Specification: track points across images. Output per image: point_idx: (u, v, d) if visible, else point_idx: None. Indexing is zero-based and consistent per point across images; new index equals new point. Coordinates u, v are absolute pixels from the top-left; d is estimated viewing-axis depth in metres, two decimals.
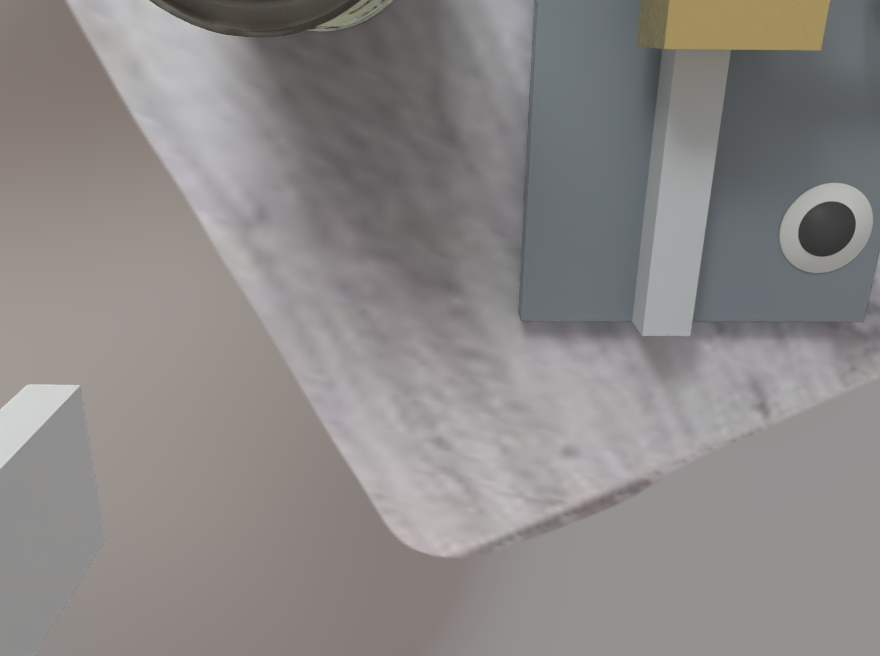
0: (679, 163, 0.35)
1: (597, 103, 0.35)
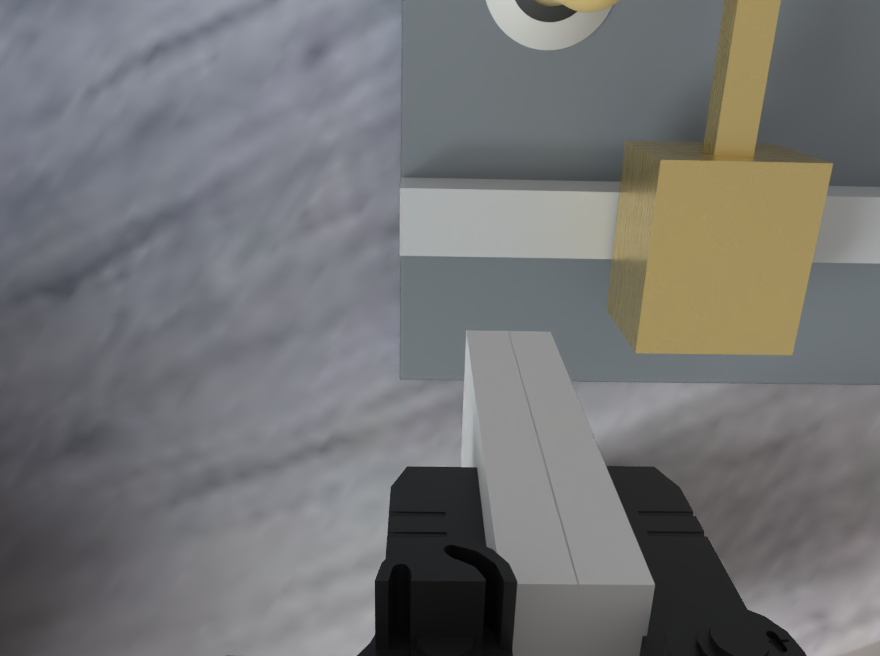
0: None
1: None
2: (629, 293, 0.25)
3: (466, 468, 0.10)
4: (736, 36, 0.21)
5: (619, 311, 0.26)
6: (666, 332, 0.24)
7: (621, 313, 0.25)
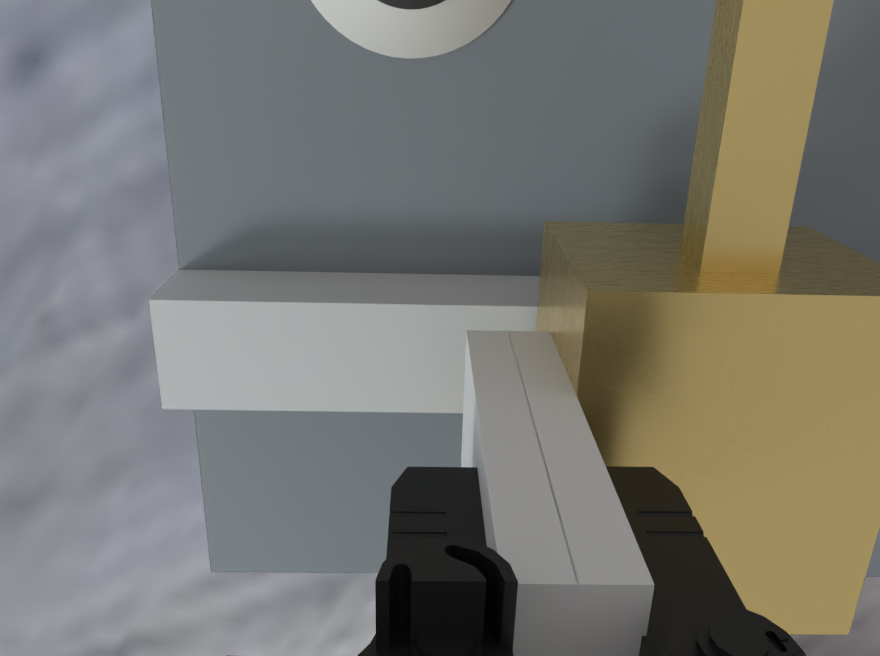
0: None
1: None
2: None
3: (466, 468, 0.10)
4: (747, 36, 0.10)
5: None
6: None
7: None
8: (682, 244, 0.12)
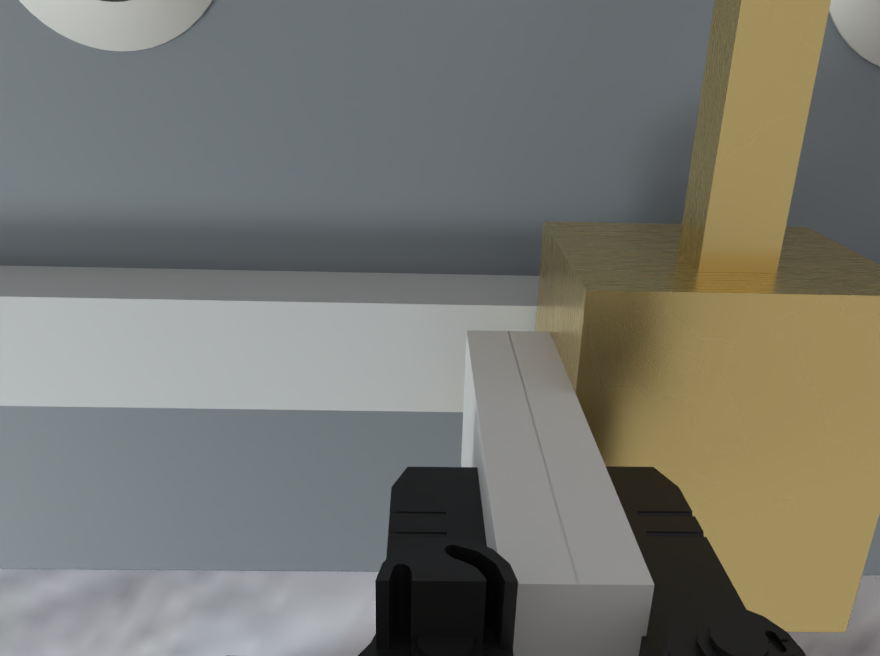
0: None
1: None
2: None
3: (466, 468, 0.10)
4: (744, 37, 0.10)
5: None
6: None
7: None
8: (680, 244, 0.12)
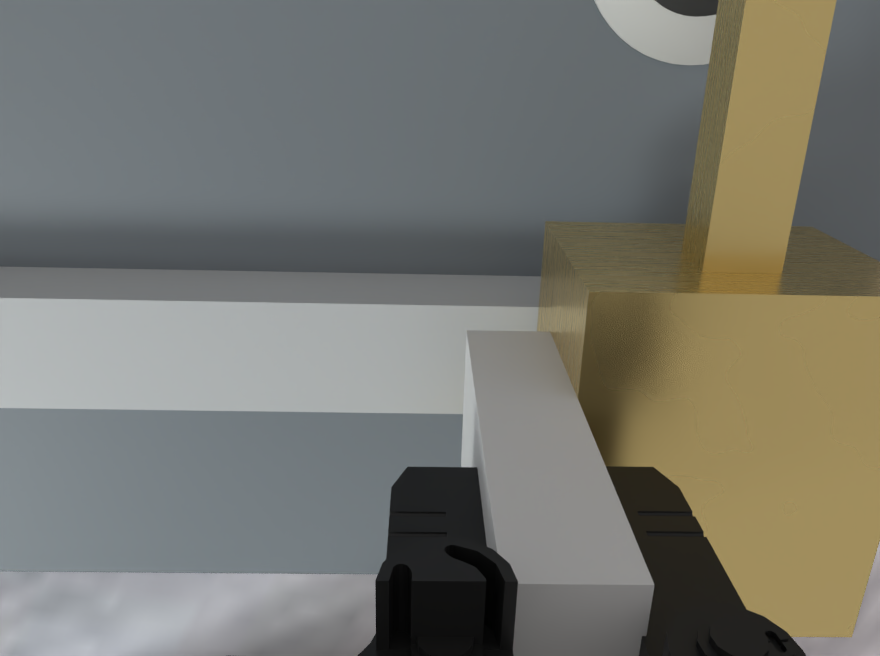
0: None
1: (391, 473, 0.19)
2: None
3: (466, 468, 0.10)
4: (749, 34, 0.10)
5: None
6: None
7: None
8: (684, 244, 0.12)
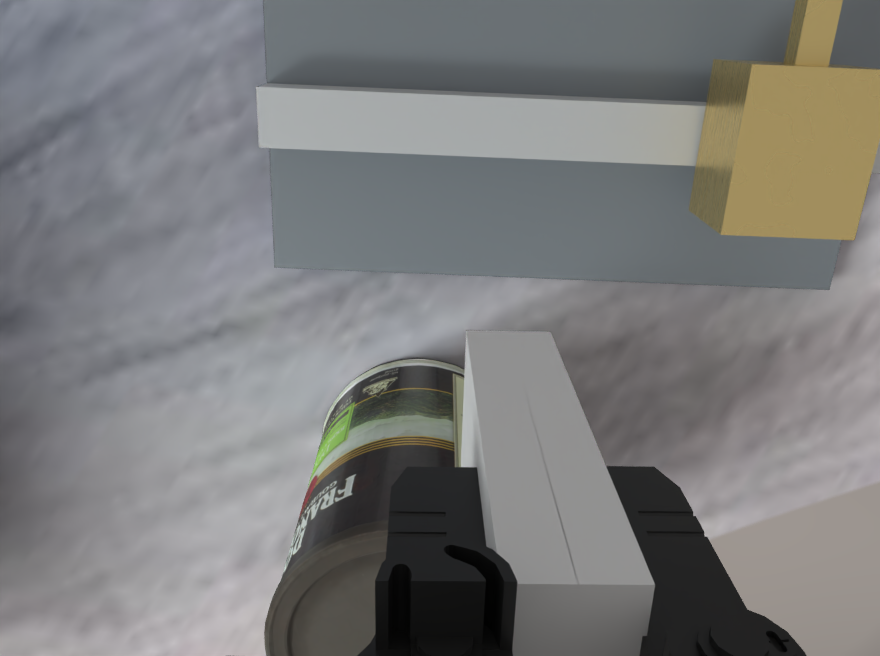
0: (684, 146, 0.31)
1: (605, 216, 0.34)
2: (715, 186, 0.29)
3: (466, 468, 0.10)
4: None
5: (703, 206, 0.30)
6: (748, 217, 0.28)
7: (705, 206, 0.30)
8: (785, 59, 0.28)
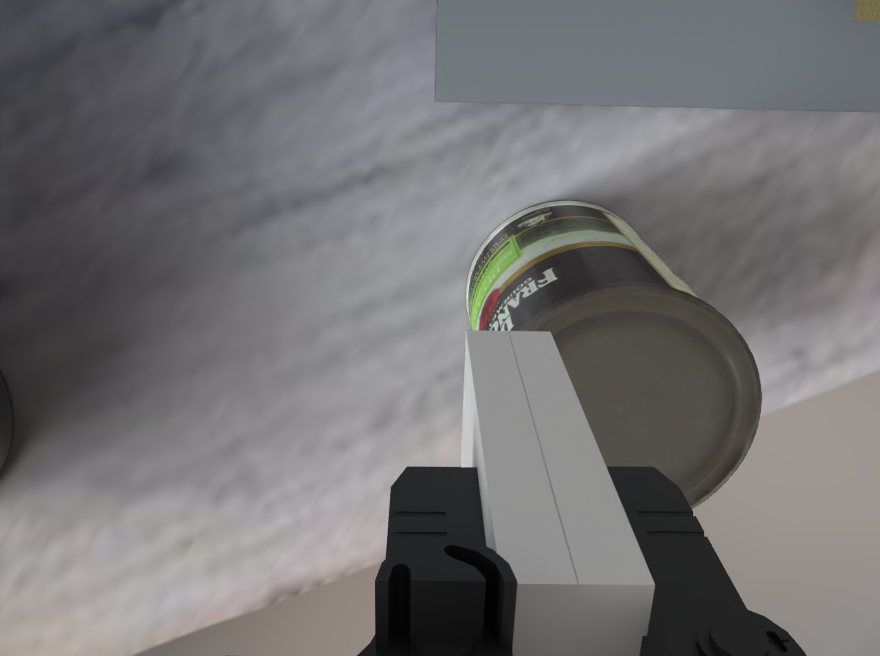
0: None
1: (760, 41, 0.35)
2: None
3: (466, 468, 0.10)
4: None
5: (878, 5, 0.31)
6: None
7: None
8: None
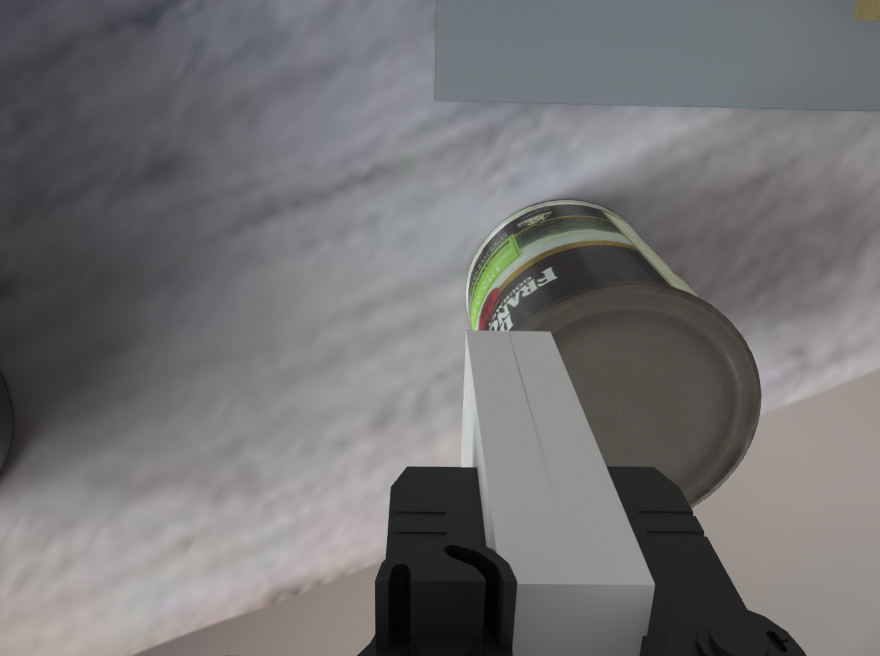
0: None
1: (759, 40, 0.35)
2: None
3: (466, 468, 0.10)
4: None
5: (877, 4, 0.31)
6: None
7: None
8: None
